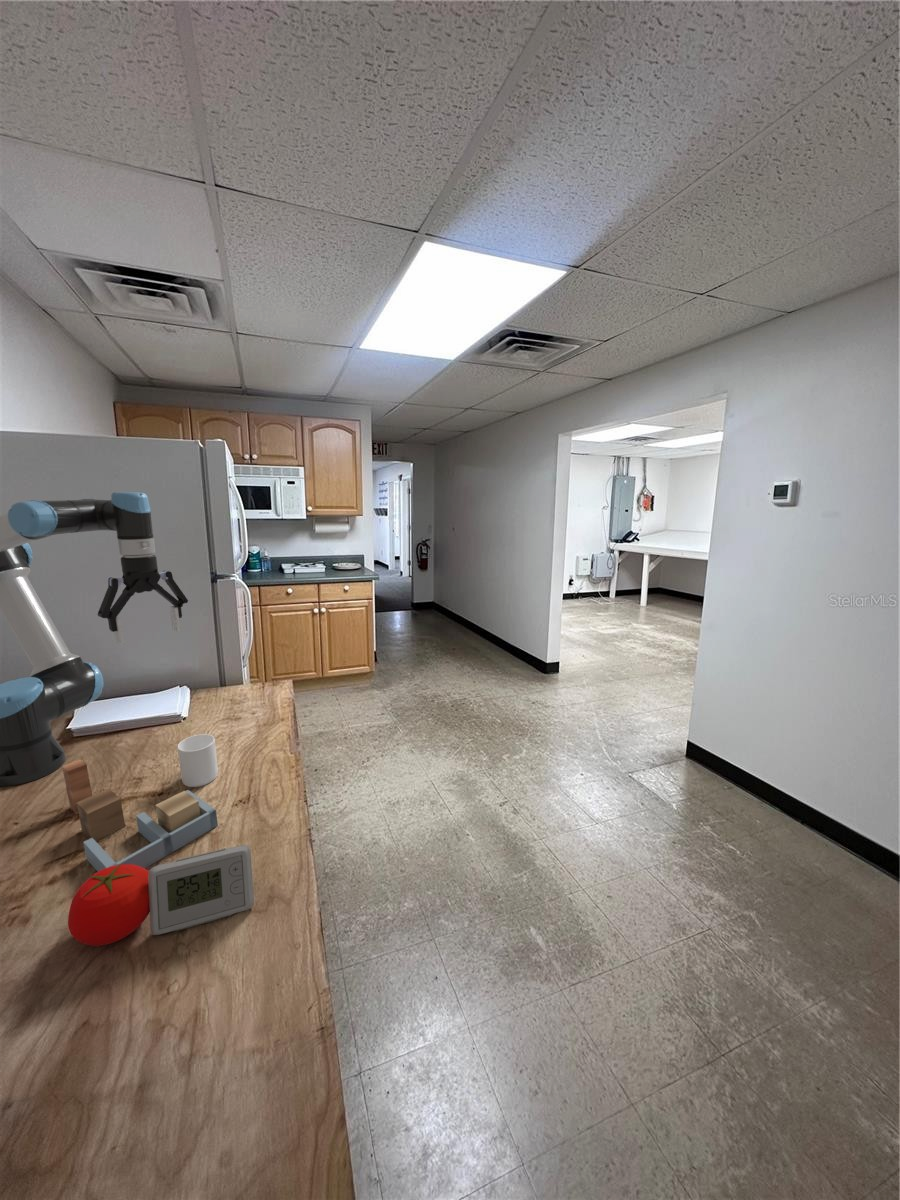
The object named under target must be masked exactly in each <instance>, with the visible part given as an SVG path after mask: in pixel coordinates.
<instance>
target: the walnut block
mask: <svg viewBox="0 0 900 1200" xmlns="http://www.w3.org/2000/svg"><path fill="white" fill-rule="evenodd" d="M61 769H62V772H63V779H64V784H65V789H66V794H67V798H68V804H69V808H70V809H71V811H73V813H74V814H75V815H78V817H79V822H80V828H81V832H82V833H84V835H85V836H86V837H87V838H88V839H90V838H93V839H94V840H95V841H96V842H97V841H99V840H101V839H104V838H105V837H108V836H109V835H111V834H113V833H115V832H118V831H119V830H122V829H123V828H125V827H126V823H125V822H126V821H125V817H124V812H123V811H124V810H123V806H122V799H121V798H120V797H119V796H118V795H117V794H116V793H115V792H113V791H112V790H111V788H107V789H104V790H103V791H100V792H98V793H96V794H93V793H92V786H91V782H90V781H91V780H90V776H89V771H88V765H87V763H86V762H85V761H84V760H82V759H76V760H75V761H72V762H69V763H67V764H63V765H62V766H61Z"/></svg>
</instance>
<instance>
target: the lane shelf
mask: <svg viewBox="0 0 900 1200" xmlns="http://www.w3.org/2000/svg"><path fill="white" fill-rule="evenodd" d="M185 791H186V792H187V793H188V794H190V795H191V796H192V797H194V798H195V799H197V800H198V801H199V809H200V817H198V818H196V819H194V820H192V821H191V822H189V823H187V824H185V825H183V826H182V827H180V828H178V829H176V830H174V831H173V832H171V833H168V832H167V831H165V830H164V829H163V828H162V827H161V826H160V825H159V824H158V822H156V821H155V820H154V819H153V818H151V817H150V816H149V815H148V814H147V813H146V812H145V811H142V812H140V813H138V814H136V815H135V816H136V817H135V818H136V823H137V830H138V832H139V834H141V836H142V837H144V838H145V839H146V840H147V841H148V842H149V844H147V845H145V846H144V847H142V848H140V849H138V850H137V851H135V852H133V853H131V854H129V855H128V856H126V857H124V858H122V859H120V860H119V861H117V862H116V861H115V860H114V859H113V858H112V856H110V855H109V854H108V853H107V851H105V850H104V848H103V847H102V846H101V845H100V844H99V843H98V842H97V841H95V840H94V839H93V838H90V839H89V838H88V839H86V840H84V841H83V847H84V853H85V859H86V860H87V861H88V862H89V864H90V865H91V866H92V867H93V868H94V869H95V870H96V871H97V872H99V871H100V870H103V869H105V868H108V867H111V866H115V865H120V864H121V865H125V864H132V865H137V866H140V867H143V868H145V869H147V868H148V867H150V866H151V865H153V864H155V863H157V862H158V861H160V860H162V859H163V858H165V857H166V856H169V855H170V854H172V853H174V852H175V851H177V850H179V849H181V848H182V847H184V846H186V845H188V844H189V843H190V842H193V841H195V840H196V839H198V838H199V837H201V836H202V835H205V834H206V833H208V832H209V831H211V830H213V829H215V828H216V827H218V825H219V824H218V815H217V809H216V808H214V807H213V806H211V805H210V804H209V803H207V801H204V800H203V799H201V798H200V797H199V796H198V795H196V794H195V793H193V792H192V791H190V790H189V789H186V790H185Z"/></svg>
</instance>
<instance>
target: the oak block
mask: <svg viewBox="0 0 900 1200" xmlns="http://www.w3.org/2000/svg"><path fill="white" fill-rule="evenodd" d="M186 791H187V790H183V791H181V792H178V793H176V794H175V795H173V796H171V797H169V798H167V799H165V800H162V801H161V802H159V803H157V804H155V809H156V817H157V824H158V825H160V826H161V827H162V828H163V829H164V830H165V831H167V832H168V833H171V832H173V831H174V830H176V829H178V828H180V827H182V826H183V825H185V824H187V823H189V822H191V821H192V820H194V819H196V818H198V817H200V809H199V801H198V800H197V799H195V798H194V797H192V796H191V795H190V794H188V793H187V792H186Z"/></svg>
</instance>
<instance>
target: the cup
mask: <svg viewBox="0 0 900 1200" xmlns="http://www.w3.org/2000/svg"><path fill="white" fill-rule="evenodd" d="M177 754H178V760H179V761H178V762H179V769H180V777H181V781H182V783H183V785H185V786H186V787H189V788H198V787H203V786H205V785H208V784H209V783H211V782H213V781H214V780H215V779H216V778H217V776H218V775H219V769H218V757H217V748H216V740H215V737H214V736H213V735H212V734H207V733H202V734H201V733H200V734H195V735H191V736H189V737H186V738H183V740H180V742H179V743H178V745H177Z"/></svg>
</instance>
